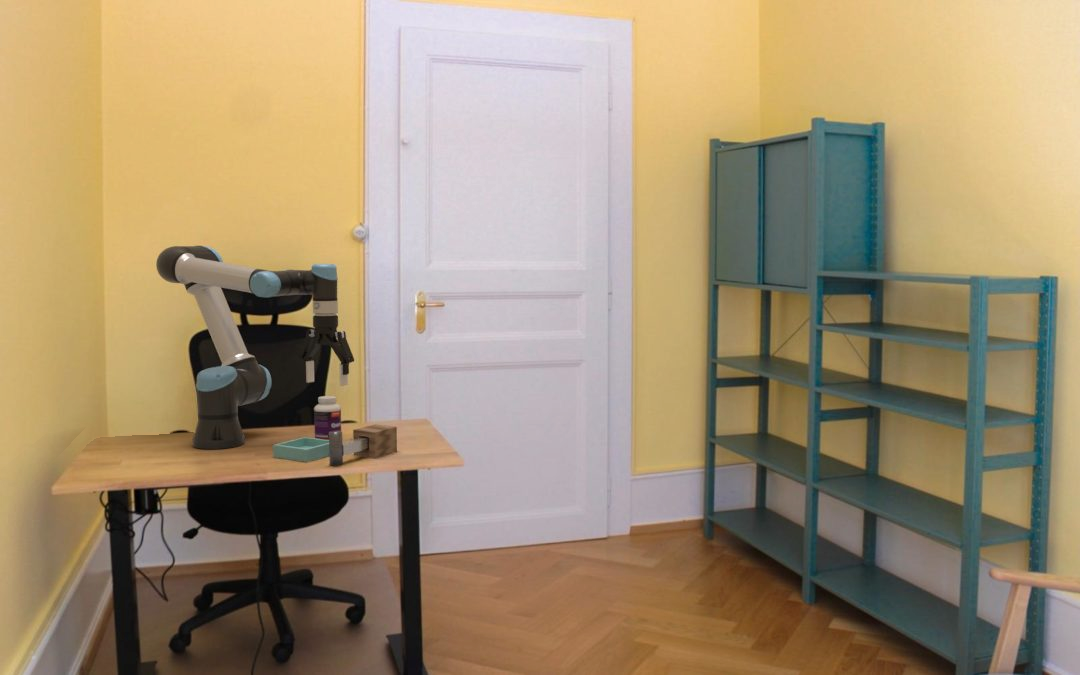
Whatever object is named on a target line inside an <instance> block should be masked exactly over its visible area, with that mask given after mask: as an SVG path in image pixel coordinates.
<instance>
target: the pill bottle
mask: <svg viewBox="0 0 1080 675" xmlns="http://www.w3.org/2000/svg"><path fill="white" fill-rule="evenodd" d="M317 401H318V404H316V405H315V406H314V408H313V414H314V415H313V417H314V418H313V419H314V421H313V422H314V438H316V439H323V440H329V432H331V431H342V408H341V406H340V404H338V403H336V402H337V396H334V395H323V396H319V397H317Z"/></svg>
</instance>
